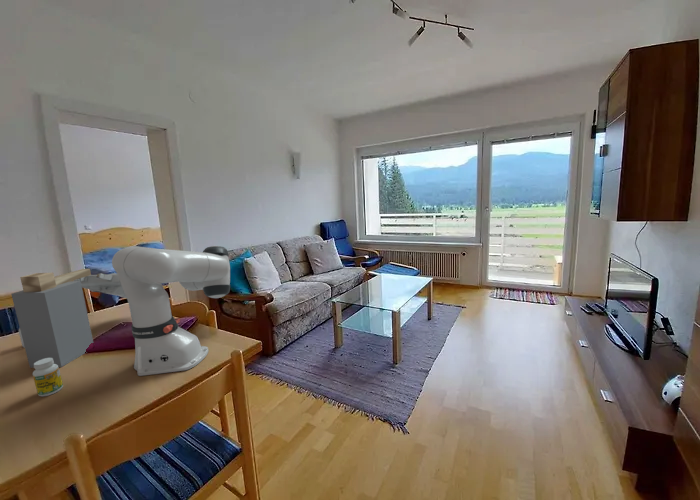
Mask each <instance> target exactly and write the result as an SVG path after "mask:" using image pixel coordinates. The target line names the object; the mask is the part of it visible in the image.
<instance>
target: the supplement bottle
mask: <svg viewBox="0 0 700 500" xmlns="http://www.w3.org/2000/svg"><path fill="white" fill-rule="evenodd" d="M53 363H54V361H53V358H45V359H42V360H39V361H37V362H35V363H34V368H33V369H35V370H33V371H32V377H33V381H34V385H35V389H36V392H37V395H38V396H39V397H47V396H51V395H53V394H56V393H58V392H60V391H61V390H62V389H63V387H64V383H63V381H62V375H61V371H60V367H58V365H57V364H53Z"/></svg>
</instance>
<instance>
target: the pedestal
mask: <svg viewBox="0 0 700 500" xmlns="http://www.w3.org/2000/svg"><path fill="white" fill-rule="evenodd" d="M11 298H12V302H13V306H14V309H15V314H16V318H17V321H18V326H19V328H20V330H21V334H22V338H23V342H24V346H25V347H24V348H25V349H24V350H25V353H26V354H25V355H26V358H27V362H28V365H29V368H30V369H31V368H33V369H35V368H34V363H35V362H37V361H39V360H42V359H45V358H53V361H54V363H53V364H57V365H58V367H59V368H63V367H64V366H66V365H67V364H69V363H71V362H73V361H74V360H76V359H77V358H79V357H81V356H83V355H84V354H86V353H87V352H86V349H87V348H88V347H89V345H90V344H91V343H94V339H93V335H92V334H93V333H92V330H91V325H90V321H89V316H88V309H87V305H86V299H85V295H84V291H83V288H82V285H81V281H74V280H73V281H70V282H67V283H63V284H60V285H57V286H56V287H54V288H51V289H48V290H45V291H39V292H24V291H23V290H22V289H21V290H19V291H16V292H12V293H11ZM85 352H86V353H85Z"/></svg>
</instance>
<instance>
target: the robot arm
mask: <svg viewBox="0 0 700 500" xmlns="http://www.w3.org/2000/svg"><path fill="white" fill-rule="evenodd" d="M229 257H230V255H229V251H228V249H226V247H224V246H220V245H211V246H208V247H206V248H204V249H203V251H194V250H193V251H191V250H183V249H181V250H179V249H165V248H164V249H163V248H155V247H154V248H153V247H146V246H145V247H144V246H138V245H137V246H136V245H131V246H127V247H124V248H121V249H120V250H118V251H117V252H115V253H114V254H113V256H112V259H111V265H112V268H113V270H114V271H115V272H113V273H107V274H104V273H102V272H101V273H97V274H91V275H89V276H86V277H83V278H79V279H76V280H73V281H81V285H82V289H86V290H90V292H93V293H103V294H108V295H113V296H119V297H121V298H122V299H123V298H124V299H126V300H127V304H128V306H129V312H130V318H131V323H132V324H131V334H132V337H133V338H134V345H135V346H134V348H135V354H134V355H135V356H134V364H133V368H134V370H135V371H137V376H139V377H142V376H149V375H150V376H151V375H158V374H166V373H172V372H173V373H174V372H175V373H176V372H180V371H181V372H183V371H188V370H190V369H192V368H193V367H195V366H197V365H198V364H200V363H201V362H202V361H203V360H204V359H205V358H206V357H207V355H208V354H209V347H208V346H205V345H201V342H200V340H199V338H198V336H197V335H195V334H194V333H191V332H189V331H188V330H186V329H184V328H182V327H180V326H179V323H181V320H180V319H181V318H178V319H177V320H176V319H175V317H174V316H173V315H172V309H171V303H170V302H171V301H170V296H169V294H168V292H167V291H166V290H165V288H164V286H163V284H169V283H170V284H171V283H175V282H176V283H179V284H180V285H181V287H182V288H184V289H186V290H187V291H201V290H202V291H203V293H204V295H205V297H207V298H211V299H219V298H222V297H225V296H227V295H228V294H229V293H230V290H231V284H230V283H231V264H230V259H229Z"/></svg>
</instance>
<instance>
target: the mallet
mask: <svg viewBox="0 0 700 500" xmlns="http://www.w3.org/2000/svg"><path fill="white" fill-rule="evenodd" d="M89 275H92V273H91V269H90V268H80V269H78V270H73V271H71V272H67V273H63V274H59V275H56V276H55V274H54V272H34V273H31V274H28V275H22V276H20V277H19V279H20V282H21V287H22V289H23V291H24V292H39V291H45V290H48V289H51V288H54V287H56V286H57V285H60V284H63V283H67V282H70V281H74V280H76V279H79V278H83V277H86V276H89Z"/></svg>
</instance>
